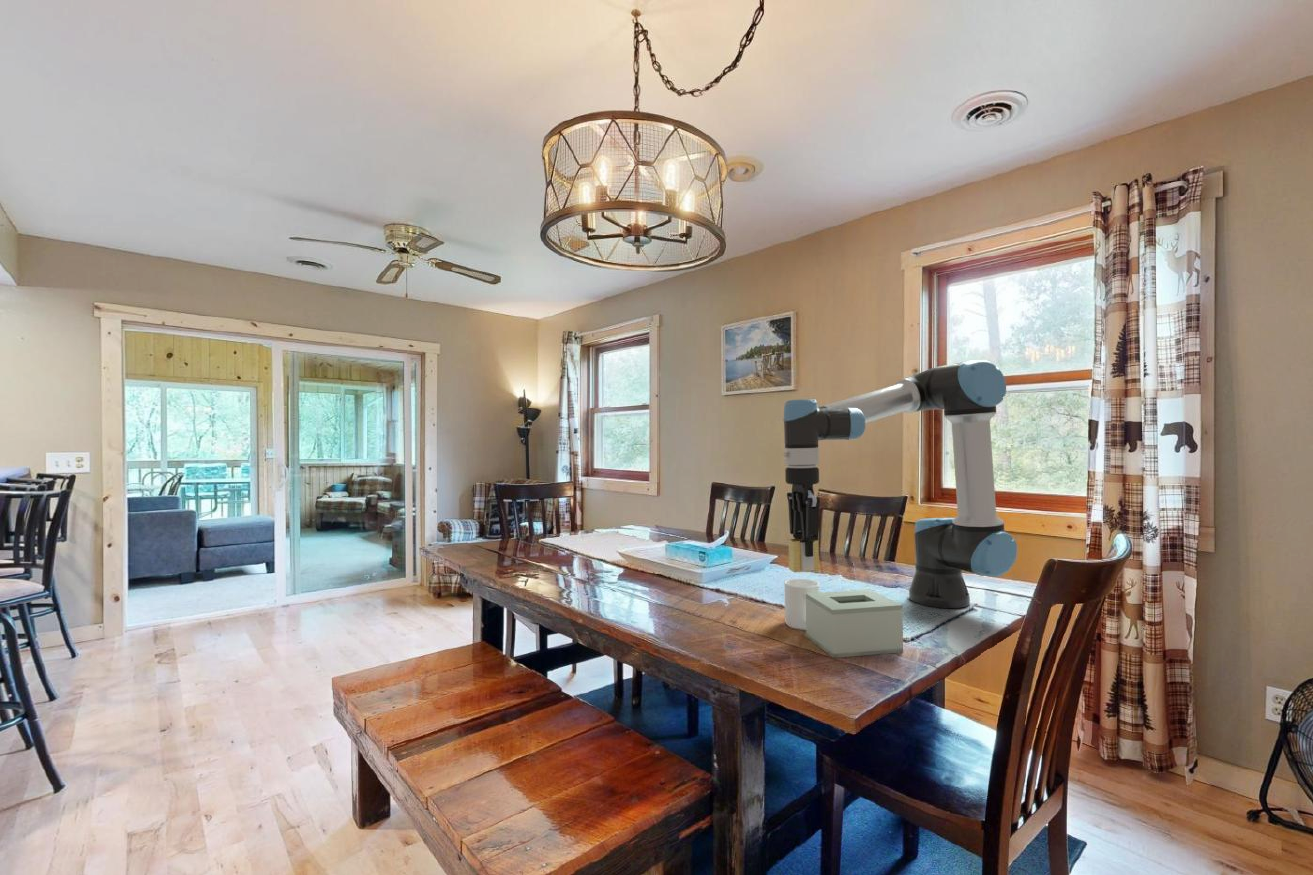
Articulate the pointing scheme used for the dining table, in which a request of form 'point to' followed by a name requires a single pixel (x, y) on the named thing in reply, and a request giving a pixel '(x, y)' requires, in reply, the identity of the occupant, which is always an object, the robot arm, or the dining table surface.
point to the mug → (798, 601)
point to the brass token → (796, 555)
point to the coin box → (854, 623)
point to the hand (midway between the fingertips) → (804, 568)
